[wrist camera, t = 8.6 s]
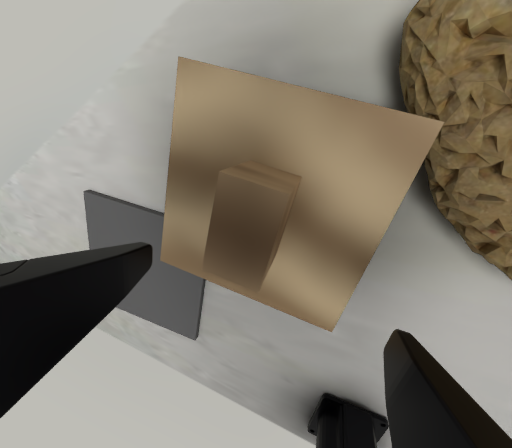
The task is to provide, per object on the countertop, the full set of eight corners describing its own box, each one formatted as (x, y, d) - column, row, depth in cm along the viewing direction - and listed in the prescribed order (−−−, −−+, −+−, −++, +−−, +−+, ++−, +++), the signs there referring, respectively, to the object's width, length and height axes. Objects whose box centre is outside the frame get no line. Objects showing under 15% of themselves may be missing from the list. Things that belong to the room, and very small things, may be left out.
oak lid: (332, 321, 17) (331, 391, 12) (168, 254, 19) (117, 292, 14) (435, 122, 11) (502, 117, 7) (188, 61, 13) (116, 27, 9)
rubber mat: (197, 336, 28) (195, 340, 27) (98, 295, 31) (94, 298, 30) (212, 228, 22) (208, 231, 22) (88, 189, 25) (83, 191, 24)
